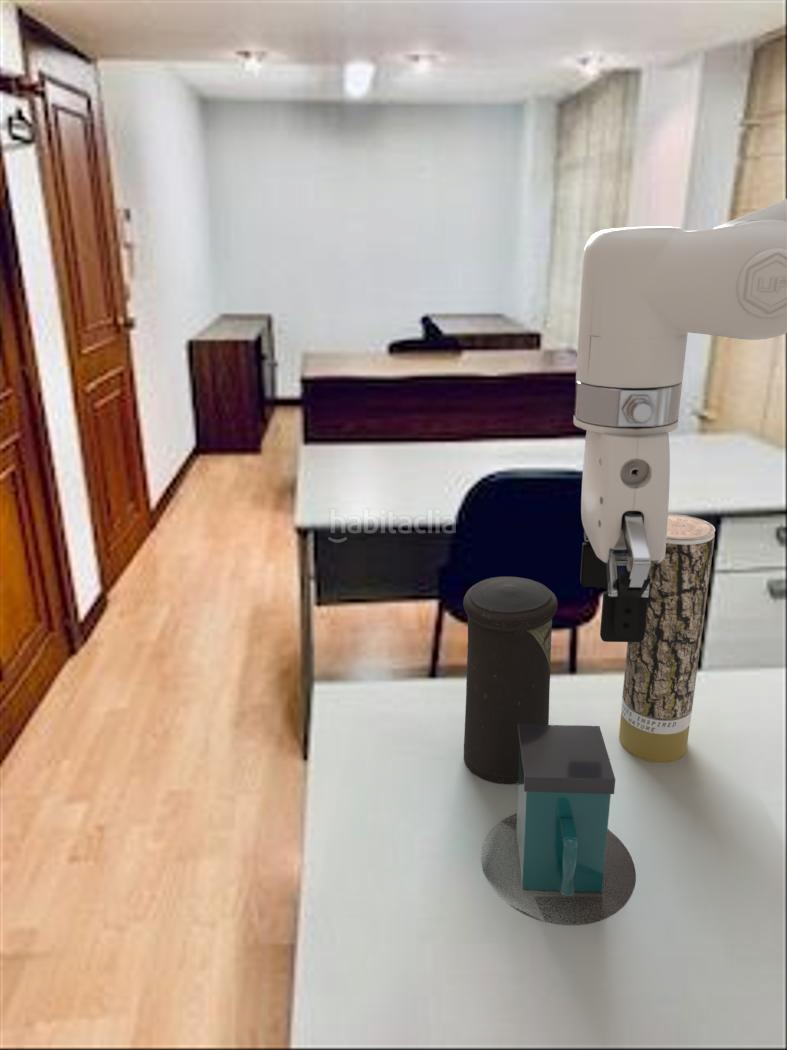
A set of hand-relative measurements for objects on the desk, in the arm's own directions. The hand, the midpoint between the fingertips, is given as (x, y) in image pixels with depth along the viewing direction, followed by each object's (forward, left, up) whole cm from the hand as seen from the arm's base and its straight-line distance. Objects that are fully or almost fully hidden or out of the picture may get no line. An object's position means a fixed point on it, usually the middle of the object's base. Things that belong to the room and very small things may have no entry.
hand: (609, 610), depth 63 cm
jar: (+4, +7, -21) cm, 22 cm away
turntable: (+4, +6, -22) cm, 23 cm away
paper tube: (-8, -11, -22) cm, 26 cm away
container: (+7, -8, -22) cm, 25 cm away
